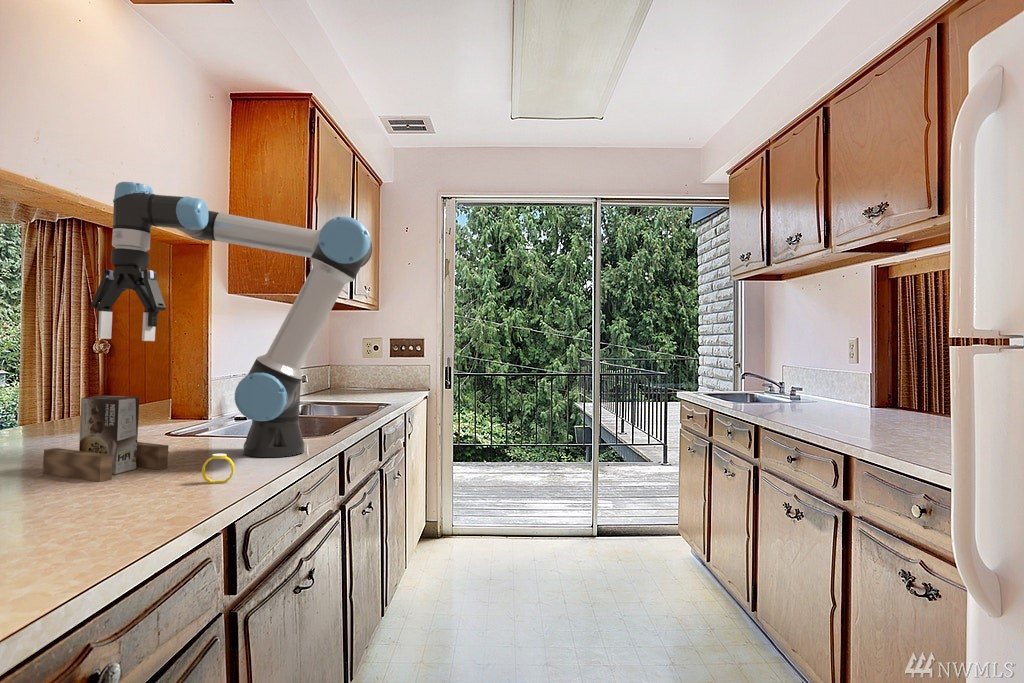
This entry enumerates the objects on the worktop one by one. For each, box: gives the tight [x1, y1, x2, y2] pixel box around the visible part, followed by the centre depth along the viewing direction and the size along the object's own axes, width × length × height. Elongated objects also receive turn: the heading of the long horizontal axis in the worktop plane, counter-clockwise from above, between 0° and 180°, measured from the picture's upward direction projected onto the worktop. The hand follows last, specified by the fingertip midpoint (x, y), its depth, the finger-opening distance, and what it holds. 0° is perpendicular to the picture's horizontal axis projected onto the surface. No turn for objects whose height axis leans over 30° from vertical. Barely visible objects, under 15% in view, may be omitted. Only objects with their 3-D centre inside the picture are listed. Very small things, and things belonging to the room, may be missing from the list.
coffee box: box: [78, 395, 140, 475], centre depth 128 cm, size 9×6×16 cm
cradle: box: [42, 441, 169, 483], centre depth 128 cm, size 16×16×5 cm
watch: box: [201, 452, 236, 484], centre depth 122 cm, size 6×3×6 cm, turn 106°
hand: (126, 340), depth 137 cm, fingers open, 13 cm apart
